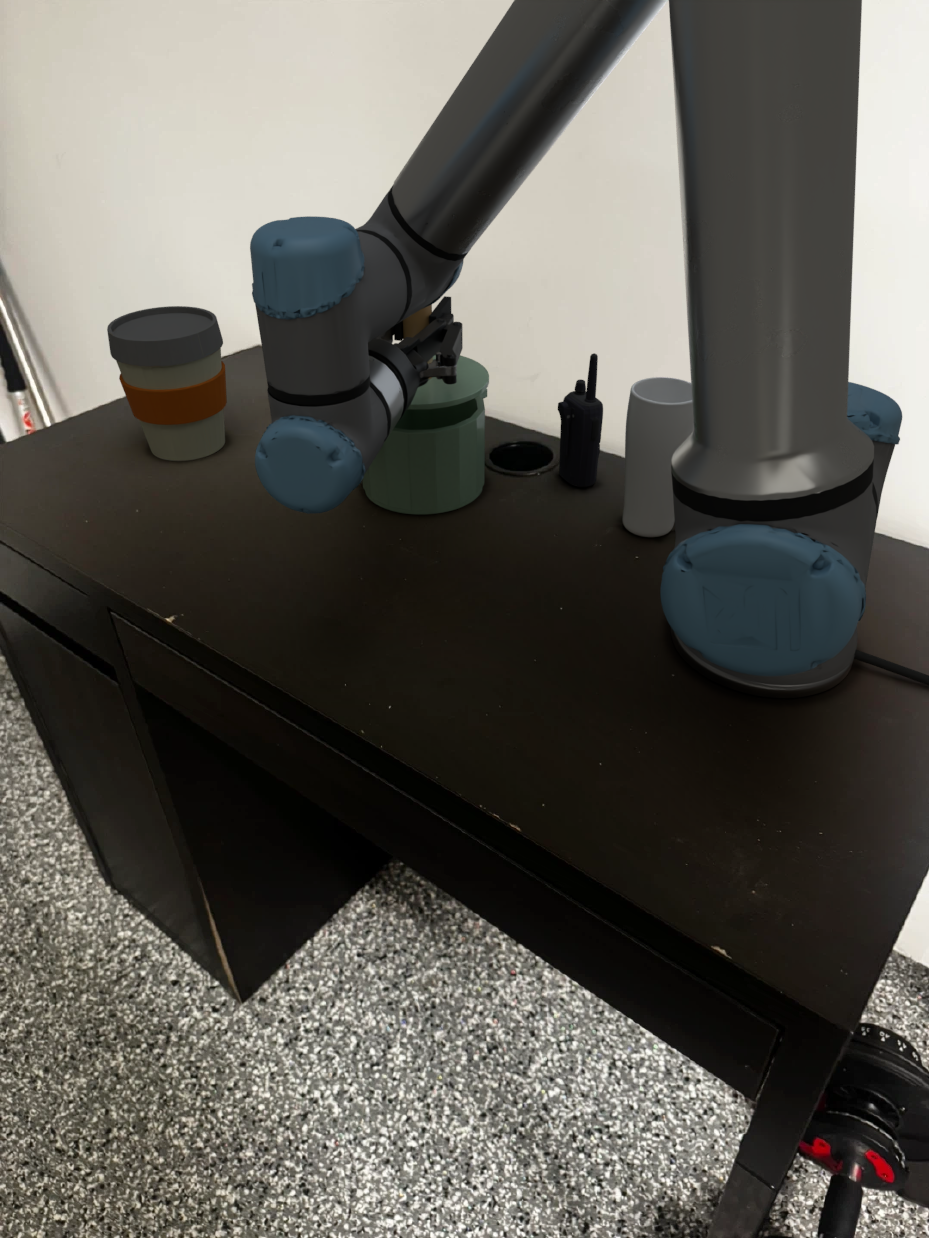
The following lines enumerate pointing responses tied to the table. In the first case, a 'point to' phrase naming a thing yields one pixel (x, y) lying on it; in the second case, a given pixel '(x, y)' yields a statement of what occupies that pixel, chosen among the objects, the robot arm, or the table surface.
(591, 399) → the two-way radio
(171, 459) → the reusable coffee cup
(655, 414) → the drinking glass
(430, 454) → the pot
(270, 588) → the table surface
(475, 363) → the lid
